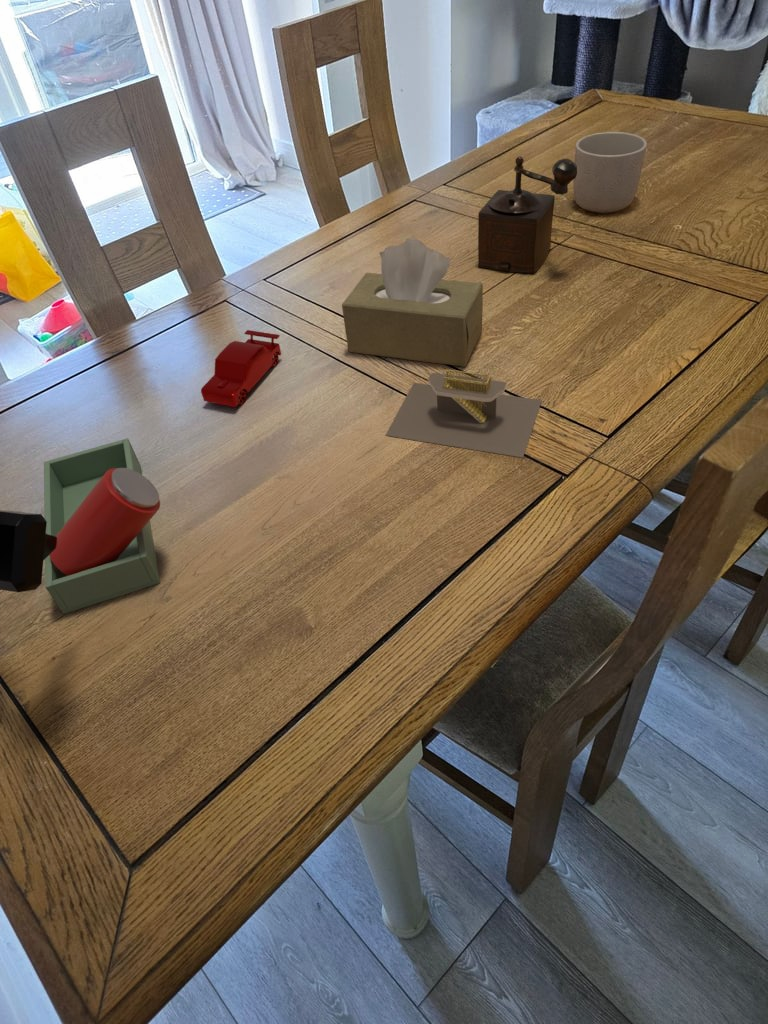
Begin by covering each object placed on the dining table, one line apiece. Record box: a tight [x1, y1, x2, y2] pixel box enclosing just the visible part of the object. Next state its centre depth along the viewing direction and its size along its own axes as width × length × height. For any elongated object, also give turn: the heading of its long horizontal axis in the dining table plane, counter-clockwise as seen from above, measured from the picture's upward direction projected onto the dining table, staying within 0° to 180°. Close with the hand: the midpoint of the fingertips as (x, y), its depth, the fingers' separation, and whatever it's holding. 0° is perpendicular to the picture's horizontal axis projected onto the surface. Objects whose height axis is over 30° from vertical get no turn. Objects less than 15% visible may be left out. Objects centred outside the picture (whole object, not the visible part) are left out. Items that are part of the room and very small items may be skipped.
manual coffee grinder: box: [477, 156, 577, 274], centre depth 114 cm, size 16×11×18 cm
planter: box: [572, 131, 648, 214], centre depth 129 cm, size 12×12×11 cm
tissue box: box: [341, 237, 484, 368], centre depth 100 cm, size 19×10×16 cm, turn 70°
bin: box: [43, 438, 161, 615], centre depth 81 cm, size 10×21×5 cm, turn 20°
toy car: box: [200, 329, 282, 408], centre depth 100 cm, size 14×6×5 cm, turn 158°
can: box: [49, 468, 161, 576], centre depth 74 cm, size 6×6×12 cm
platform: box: [385, 369, 543, 458], centre depth 89 cm, size 12×18×7 cm, turn 70°
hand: (12, 537), depth 65 cm, fingers open, 9 cm apart
